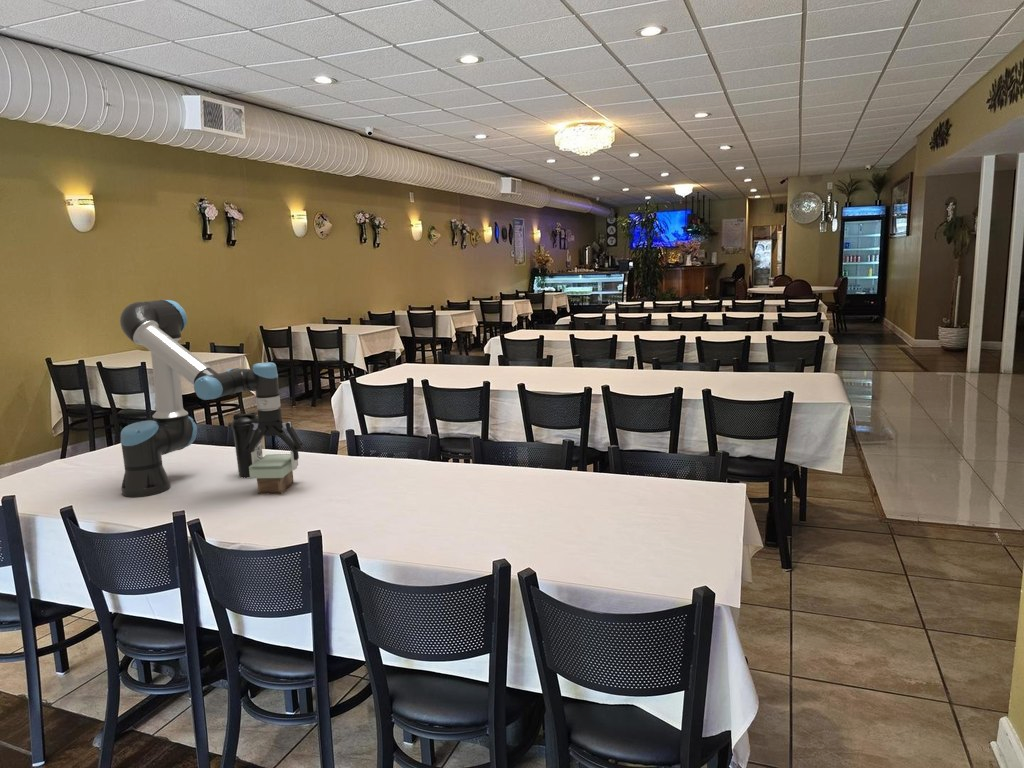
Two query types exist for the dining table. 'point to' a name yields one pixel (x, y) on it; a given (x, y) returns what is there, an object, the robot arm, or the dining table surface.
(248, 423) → the water bottle
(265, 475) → the lid
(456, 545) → the dining table surface
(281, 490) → the box
